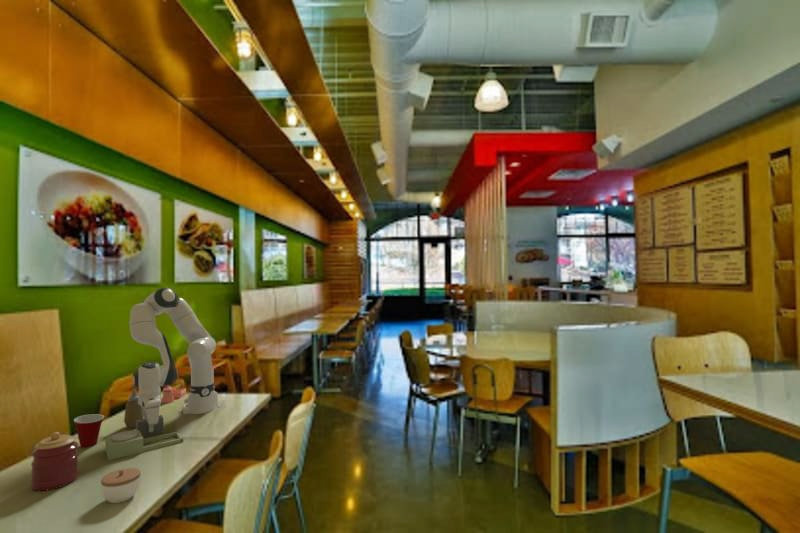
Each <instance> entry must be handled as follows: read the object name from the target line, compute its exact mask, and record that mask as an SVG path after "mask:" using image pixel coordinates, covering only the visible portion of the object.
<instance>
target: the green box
mask: <svg viewBox="0 0 800 533" xmlns="http://www.w3.org/2000/svg"><path fill="white" fill-rule="evenodd" d="M172 437H176V438H175V439H171V440H168V441H163V442H158V443H154V444H149V445H144V444H148V443H151V442H156V441H160V440H164V439H168V438H172ZM180 443H184V438H183V436H182V435H181V434H180V433H179V431H173V432H170V433H163V435H159V436H154V437H150V438H145V439H143V437H142V435H141V433H140V431H139V430H137V431H136V430H124V431H120V432H116V433H114V434H112V435H109V436H105V455H106V458H108V459H107V461H108V460H109V461H113V460H116V458H117V459H121V458H125V457H128V456H132V455H137V454H141V453H144V452H147V451H152V450H156V449H161V448H163V447H168V446H172V445H175V444H180ZM124 456H125V457H124ZM120 457H121V458H120ZM112 459H113V460H112Z"/></svg>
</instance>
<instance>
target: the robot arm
mask: <svg viewBox="0 0 800 533" xmlns="http://www.w3.org/2000/svg"><path fill="white" fill-rule="evenodd" d="M163 313H165V314H167V315H168V316H169V317H170V319H171V322H172V323H173V325H174V326H175V328H176V330H177V332H178V333H179V334H180V336H181V337H183V339H185V340H186V341H187V343H189V344H188V347H187V350H186V353H187V357H188V362H189V366H190V386H189V394H188V395H187V398H184V400H183V401H184V405H183V406H182V413H183V414H184V415H200V414H206V413H207V414H208V413H211V412H213V411H215V410H217V409H218V408H220V407H222V405H221V404H219V398H218V397H219V396H218V392H217V391H215V388H216V386H215V385H216V384H215V382H214V381H215V380H214V379H215V378H214V373H215V372H214V369H215V368H214V366H213V361H212V354H213V353H214V352H215V350H216V347H217V341H216V340H215V338H213V337H212V336H211V334H210V333H209V332H208V330H206V329H205V327H204V326H203V324H202V323H201V322H200V320H199V318H198V317H197V315H196V313H195V312H194V310H193V309H192V307H191V306H190V305H189V303H188V302H187V301H186V300H185V299H184V298H182V297H179V296H178V295H177V293H176V291H174V289H172V288H169V287H161V288H158V289H156V291H154V292H152V293H151V294H149V295H148V296H147V297H146V298H145V299H144V300H142V301H141V303H136V304H134V305H133V306H132V307H131V308H130V315H129V331H130V336H131V338H132V339H133V340H134V341H135V342H137V343H139V344H142V345H147V346H149V347H150V346H151V347H154V348H155V349H157V350H158V351H159V355H160V357H161V362H162V363H163V364H162V365H160V363H159V362H156V361H147V362H144V363H141V364H140V366H139V368H137V369H136V370H135V371H134V372H133V373H132V386H133V387H134V388H135V389H139V390H138V394H137V396H138V404H139V405H141V406H142V414H143V417H144V418H145V420H146V421H147V423H148V425H149V428H148V429H149V430H148V431H149V432H153V431H154V424H157V423H158V419H159V415H160V406H161V405H162V402H161V400H162V389H161V387H166V386H169V387H172V385H174V383H175V382H177V380H178V376H179V375H178V374H179V373H178V369H177V367H176V365H175V362H174V360H173V357H172V356H173V355H172V353H171V350H170V347H169V343H168V339H167V337H166V336H165V334H164V333H163V332H161V331H159V329H158V328H157V323H156V321H157V320H156V317H158V316H159V315H161V314H163ZM144 418H143V419H144Z"/></svg>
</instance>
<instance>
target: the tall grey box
mask: <svg viewBox="0 0 800 533" xmlns="http://www.w3.org/2000/svg"><path fill="white" fill-rule="evenodd" d="M148 428H149V425H148V423H147V421H146V420H145V418H143V419H138V420H136V429H135V431H137V430H139V431H140V433H141V435H142V437H143V439H145V438H150V437H154V436H159V435H164V417H163V415H161V414H159V419H158V423H157V424H154V431H153V432H149V431H148V430H149V429H148Z"/></svg>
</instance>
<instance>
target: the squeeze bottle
mask: <svg viewBox="0 0 800 533" xmlns="http://www.w3.org/2000/svg"><path fill="white" fill-rule="evenodd" d="M127 400H128V401H127V402H126V403H125V410H124V418H123V421H124V422H123V423H124V424H125V426H126V428H127V429H135V428H136V420H138V419H144V416H143V414H142V406H141V405H139V404H138V394H137V391H136V388H134V389H132V390H131V394H130V396H128V398H127Z"/></svg>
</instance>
